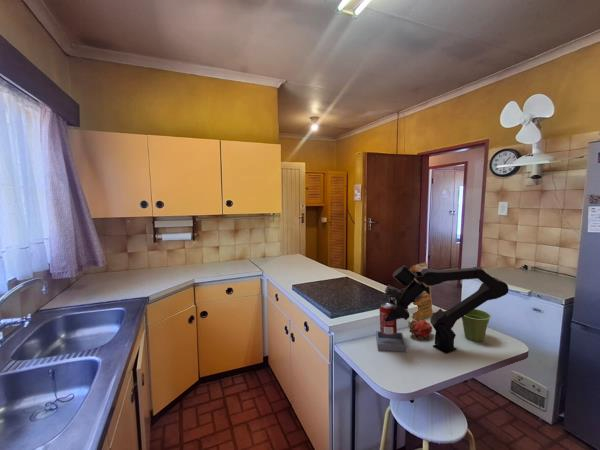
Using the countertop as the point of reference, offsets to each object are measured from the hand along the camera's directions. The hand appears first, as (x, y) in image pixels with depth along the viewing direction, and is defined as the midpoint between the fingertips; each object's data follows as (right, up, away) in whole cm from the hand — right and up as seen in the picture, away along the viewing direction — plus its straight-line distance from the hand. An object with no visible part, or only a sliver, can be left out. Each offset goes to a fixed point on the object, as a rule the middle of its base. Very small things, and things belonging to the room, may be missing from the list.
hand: (384, 317), depth 118 cm
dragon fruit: (+19, -11, +7) cm, 23 cm away
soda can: (+2, -7, 0) cm, 7 cm away
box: (+3, -12, 0) cm, 12 cm away
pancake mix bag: (+29, -9, +29) cm, 42 cm away
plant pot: (+41, -10, +4) cm, 43 cm away
